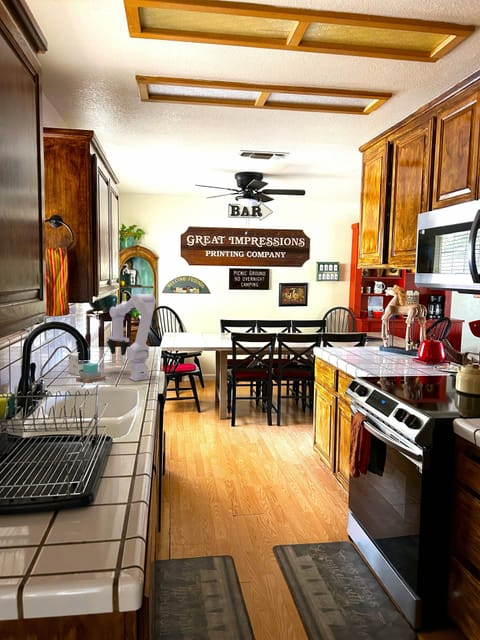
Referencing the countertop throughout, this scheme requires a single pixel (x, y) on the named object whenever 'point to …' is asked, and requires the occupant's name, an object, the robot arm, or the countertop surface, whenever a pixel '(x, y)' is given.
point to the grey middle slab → (90, 375)
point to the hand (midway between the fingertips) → (118, 354)
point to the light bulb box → (75, 364)
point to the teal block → (90, 368)
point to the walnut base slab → (90, 379)
